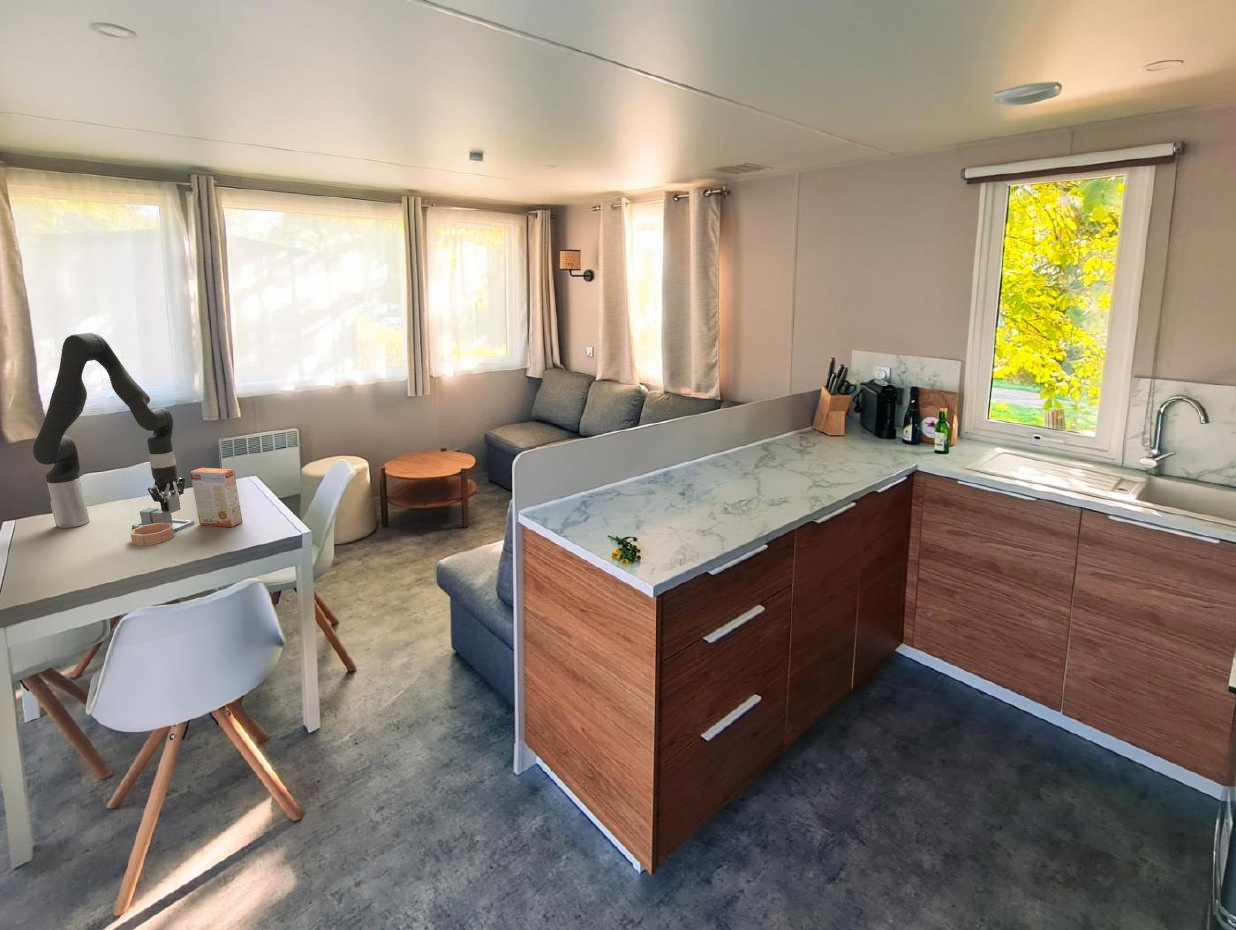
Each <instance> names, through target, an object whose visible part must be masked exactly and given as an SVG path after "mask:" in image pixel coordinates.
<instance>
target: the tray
mask: <svg viewBox="0 0 1236 930" xmlns="http://www.w3.org/2000/svg"><path fill="white" fill-rule="evenodd" d="M172 523H173V528H174V533H175V532H178V531H180V530H182V529H185V528H187V527H189V526H191V525H194V524H195V521H194V520H187V519H179V518H178V519H175V518H172ZM141 526H142V521H141V522H138V523H136V524H133V525H131V527H132V529H136V528H138V527H141Z"/></svg>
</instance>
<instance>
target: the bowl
mask: <svg viewBox="0 0 1236 930" xmlns="http://www.w3.org/2000/svg"><path fill="white" fill-rule="evenodd" d="M173 538H175V532H174V528H173V524H172V523H162V522H161V523H154V524H148V525H143V526H141V527H138V528H136V529H134V528H132V529H131V531H130V539H131V543H132V545H136V546H148V545H153V544H160V543H164V542H166V541H168V540H170V539H173Z"/></svg>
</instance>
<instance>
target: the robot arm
mask: <svg viewBox="0 0 1236 930" xmlns="http://www.w3.org/2000/svg"><path fill="white" fill-rule="evenodd" d="M63 341H64V342H63V344H62V348H61V354H60V355H61V356H60V363H59V367H58V368H59V369H58V372H57V376H56V381H55V384H54V387H53V390H52V392H51V397H50V400H49V404H48V408H47V411H46V414H45V417H44V420H43V423H42V426H41V428H40V430H39V433H38V434H37V436H36V439H35V441H34V444H33V446H32V455H33V458H34V459H35V461H37V462H38V463H39V464H41V465H45V466H46V465H47V466H48V465H53V464H54V465H53V467H52V468H51V469H50V470H48V472H46V474H45V479H46V483H47V486H48V487H47V488H48V491H49V496H50V502H49V503H50V508H51V511H52V512H51V513H52V515H53V519H54V523H55V526H57V528H60V529H70V528H71V529H72V528H76V527H80V526H84V525H87V524H88V523H89V522H90V521H91V520H90V517H89V512H88V508H87V503H86V499H85V494H84V491H83V486H82V482H81V478H80V477H81V476H80V472H81V471H80V470H81V465H80V459H79V453H78V448H77V445H76V443H75V442H74V440H73V439H72V438H71V437H70V436H68V435H66V432H67V430H68V429H69V428H70V427H71V426H72V425H73V424H74V423H75V422H76V421H77V420H78V418H80V415H81V414H82V413H83V410H84V408H85V405H86V402H87V398H88V393H87V389H86V386H85V383H84V381H83V372H84V369H85V367H86V364H87V362H92V361H96V362H98V364H100V365H101V366H102V367H103V369H104V370H105V371H106V373H107V375H108V376H109V380H110V384H111V388H112V390H113V391H114V393H115V394H116V395H117V396H118V397H119V399H121V401H122V402H123V403H124V404H125V405H126V406H127V407H128V408H129V410H130V412H131V414H132V416H133V418H134V419H135V421H136V423H137V425H139V426H140V428H142V429H143V430H146V431H147V432H148V431H149V432H152V435H150V436H149V437H148V438H147V448H148V454H149V464H150V469H151V475H152V478H153V479H154V484H153V486H151V487H148V488H147V491H148V493H149V494H150V496H151V498H152V500H153V502H156V503H159V504H160V509H161V510H162V511H163V512H168V511H169V508H168V502H167V496H168V495H169V494H171V495H178V497H179V498H180V496H181V495H183V494H184V491H185V483H186V478H184V477H178V468H177V461H176V455H175V453H174V450H173V443H172V436H173V427H174V419H173V416H172V414H171V412H170V411H169V410H168V409H167V408H164V407H155V408H153V409H150V408H149V406H148V404H149V403H150V402H151V398H150V396H149V395H148V393H147V392H146V391H144V389H143V388H142V387H141V386H140V385H139V384H138V383H137V382H136V381H135V380H134V379H133V378H132V376H131V375H130V374H129V372H128V371H127V369H126V368H125V367H124V365H123V363H122V362H121V361H120V359H119V358H118V356H117V355H116V353H115V352H114V351H113V349H112V347H111V346H110V345H109V343H108V342H107V340H106V339H104V338H103V337H102V336H101V335H100V334H98V333H94V332H85V333H75V334H71V335H68V337H66V338H65V339H64V340H63ZM162 498H163V499H162ZM179 503H180V504H181V502H180V500H179Z"/></svg>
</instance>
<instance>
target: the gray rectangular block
mask: <svg viewBox="0 0 1236 930" xmlns="http://www.w3.org/2000/svg"><path fill="white" fill-rule="evenodd" d="M151 513H152V518H153V523H161V522H162V523H172V519H173V518H172V513H166V512H162V510H161V508H160V509H159V508H158V510H157V511H154V512H151ZM172 524H173V523H172Z"/></svg>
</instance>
